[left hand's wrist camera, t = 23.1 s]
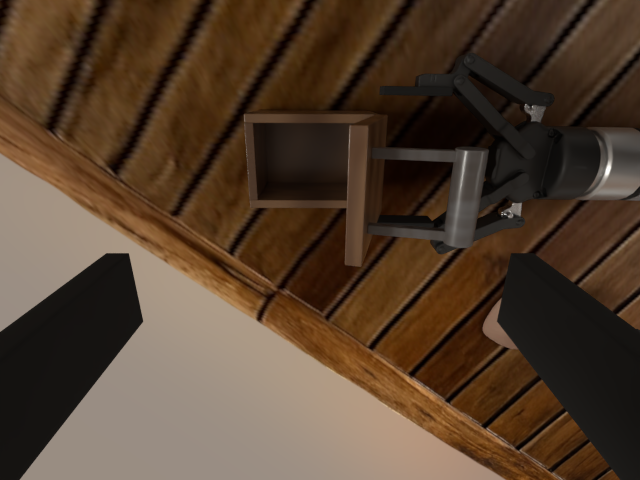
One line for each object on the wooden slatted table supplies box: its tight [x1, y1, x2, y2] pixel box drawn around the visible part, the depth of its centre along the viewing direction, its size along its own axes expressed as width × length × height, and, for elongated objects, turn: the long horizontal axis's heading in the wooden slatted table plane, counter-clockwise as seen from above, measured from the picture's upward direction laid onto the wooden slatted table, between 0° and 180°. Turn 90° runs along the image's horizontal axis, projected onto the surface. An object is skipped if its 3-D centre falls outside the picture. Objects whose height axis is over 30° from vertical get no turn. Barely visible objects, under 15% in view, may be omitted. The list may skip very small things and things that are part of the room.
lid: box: [345, 114, 489, 267], centre depth 29 cm, size 14×9×8 cm
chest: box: [244, 110, 378, 208], centre depth 40 cm, size 13×9×9 cm
